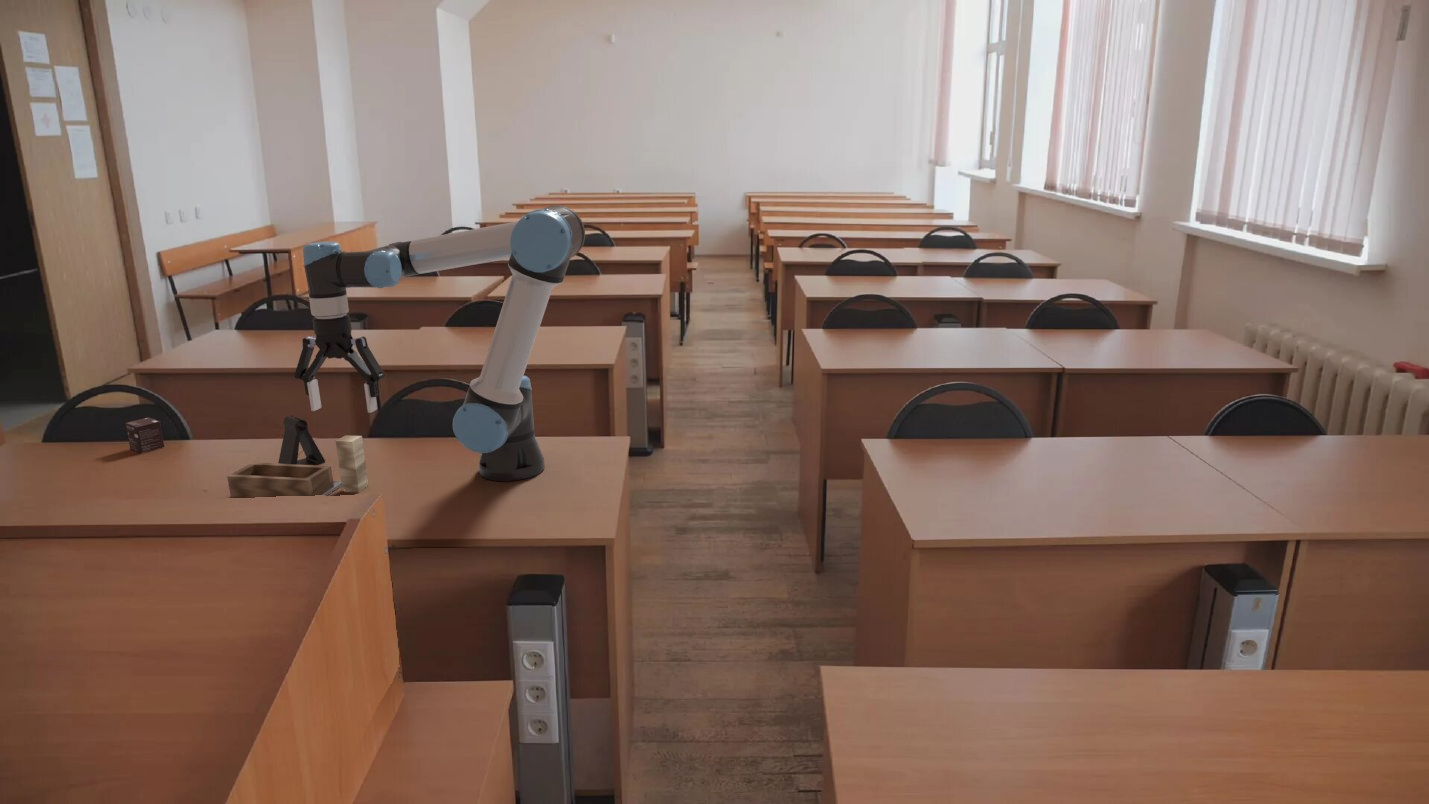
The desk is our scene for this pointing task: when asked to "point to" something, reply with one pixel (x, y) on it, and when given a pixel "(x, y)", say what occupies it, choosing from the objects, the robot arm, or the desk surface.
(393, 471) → the desk surface
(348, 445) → the birch block
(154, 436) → the box
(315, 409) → the robot arm
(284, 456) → the black phone stand
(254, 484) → the wooden tray
